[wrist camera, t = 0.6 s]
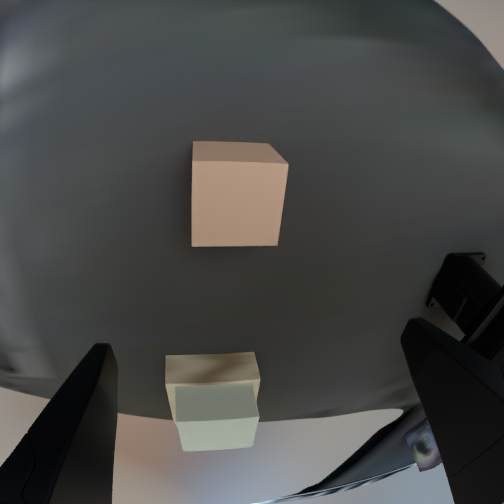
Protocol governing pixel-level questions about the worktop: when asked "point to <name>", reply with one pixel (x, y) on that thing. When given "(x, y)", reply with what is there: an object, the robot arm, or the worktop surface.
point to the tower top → (216, 416)
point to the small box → (423, 446)
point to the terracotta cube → (236, 194)
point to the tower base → (209, 372)
